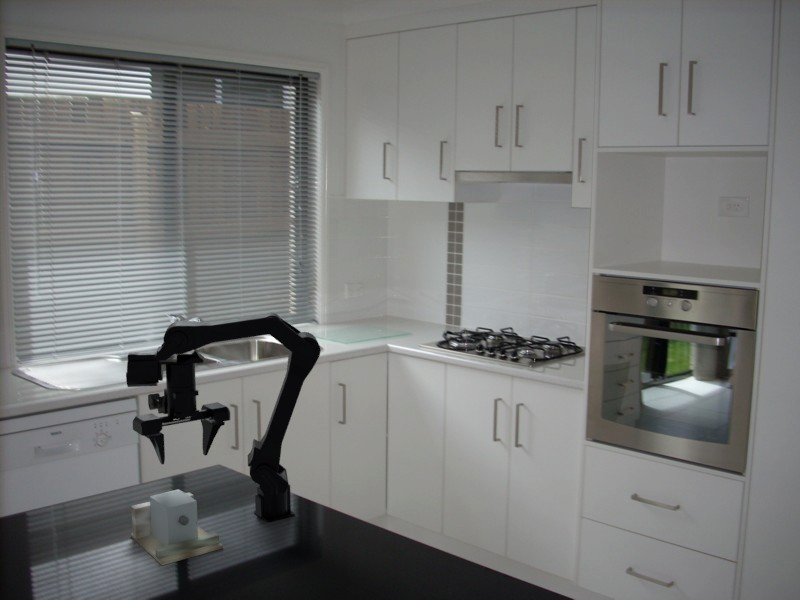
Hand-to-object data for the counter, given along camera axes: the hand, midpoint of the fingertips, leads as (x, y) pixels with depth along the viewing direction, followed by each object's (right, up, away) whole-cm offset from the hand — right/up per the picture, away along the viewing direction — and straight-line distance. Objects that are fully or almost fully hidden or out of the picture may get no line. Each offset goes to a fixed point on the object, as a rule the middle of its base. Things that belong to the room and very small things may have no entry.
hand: (184, 459), depth 174 cm
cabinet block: (0, -14, -8) cm, 16 cm away
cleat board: (+1, -14, -9) cm, 17 cm away
